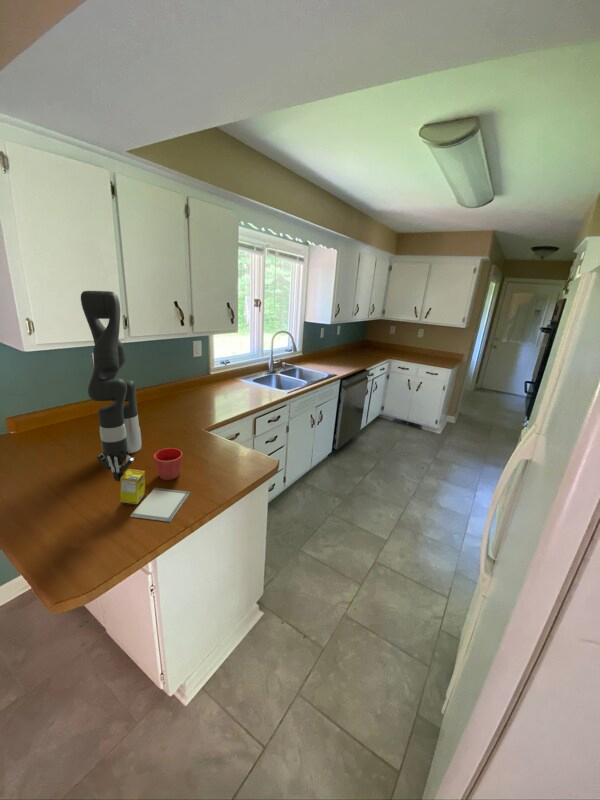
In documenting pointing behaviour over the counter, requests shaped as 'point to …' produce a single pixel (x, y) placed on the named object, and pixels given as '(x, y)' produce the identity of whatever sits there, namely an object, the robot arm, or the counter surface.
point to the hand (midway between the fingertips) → (118, 479)
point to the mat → (161, 504)
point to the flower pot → (168, 463)
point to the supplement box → (132, 487)
